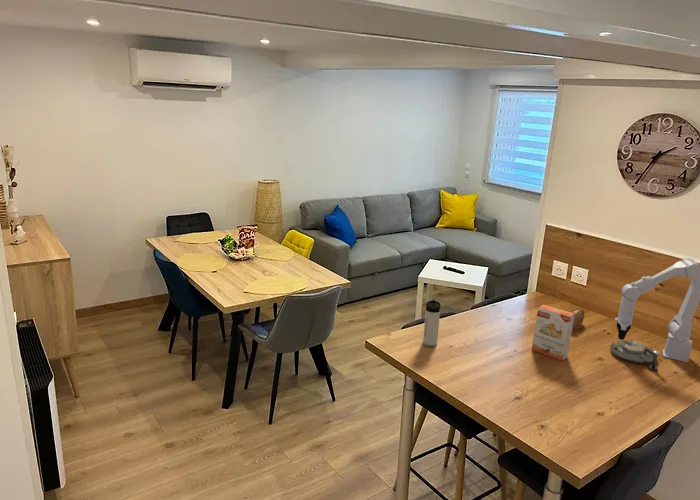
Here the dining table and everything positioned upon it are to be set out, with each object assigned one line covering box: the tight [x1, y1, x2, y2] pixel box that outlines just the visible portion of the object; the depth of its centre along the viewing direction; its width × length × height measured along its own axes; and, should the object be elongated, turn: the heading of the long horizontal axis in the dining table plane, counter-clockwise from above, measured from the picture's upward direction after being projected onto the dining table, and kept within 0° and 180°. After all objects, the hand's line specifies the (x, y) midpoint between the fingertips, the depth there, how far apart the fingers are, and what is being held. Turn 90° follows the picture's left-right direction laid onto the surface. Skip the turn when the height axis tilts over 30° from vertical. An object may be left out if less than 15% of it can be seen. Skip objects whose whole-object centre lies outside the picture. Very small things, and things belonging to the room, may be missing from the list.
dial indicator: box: [644, 348, 661, 372], centre depth 222 cm, size 6×6×8 cm
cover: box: [623, 339, 646, 355], centre depth 231 cm, size 8×8×4 cm
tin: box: [571, 308, 585, 331], centre depth 258 cm, size 15×3×8 cm, turn 136°
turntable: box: [609, 340, 654, 364], centre depth 231 cm, size 18×18×4 cm
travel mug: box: [422, 299, 441, 348], centre depth 233 cm, size 6×7×20 cm
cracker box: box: [531, 304, 575, 362], centre depth 228 cm, size 14×6×21 cm, turn 49°
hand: (621, 339), depth 237 cm, fingers closed
